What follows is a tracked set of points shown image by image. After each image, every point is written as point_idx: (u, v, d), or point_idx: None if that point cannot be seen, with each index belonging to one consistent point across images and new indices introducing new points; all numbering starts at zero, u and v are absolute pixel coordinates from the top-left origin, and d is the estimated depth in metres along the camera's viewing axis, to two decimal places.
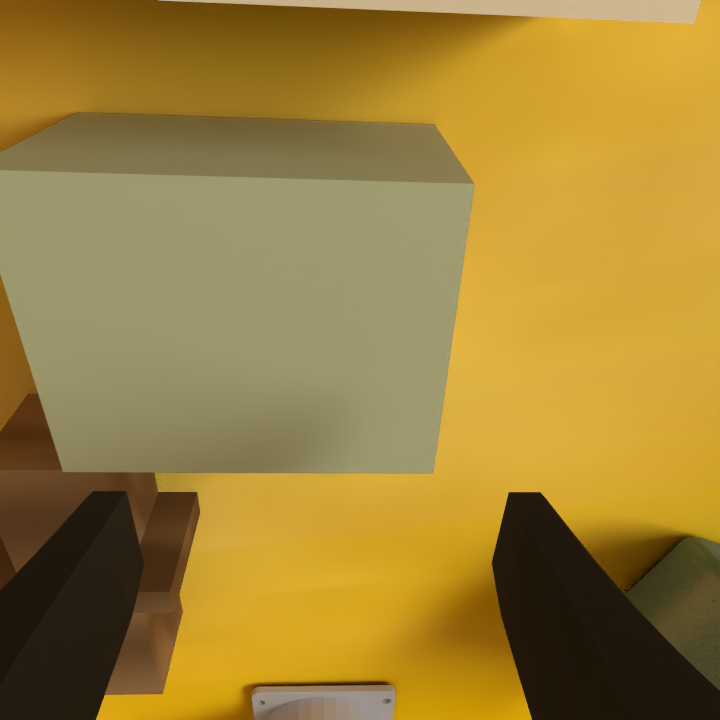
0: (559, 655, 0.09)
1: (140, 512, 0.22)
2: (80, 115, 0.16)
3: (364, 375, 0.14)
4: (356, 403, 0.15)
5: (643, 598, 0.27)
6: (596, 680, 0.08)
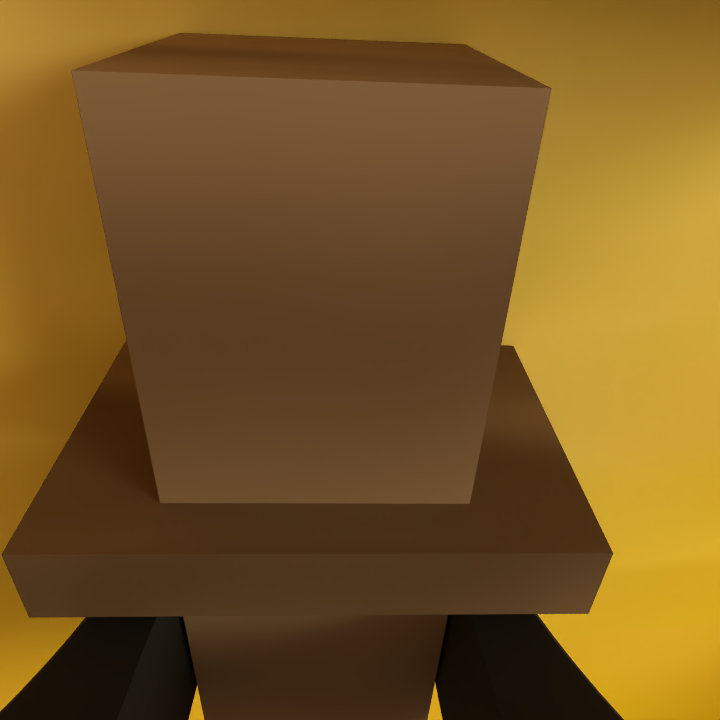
0: (458, 656, 0.09)
1: None
2: None
3: None
4: None
5: None
6: (481, 682, 0.08)
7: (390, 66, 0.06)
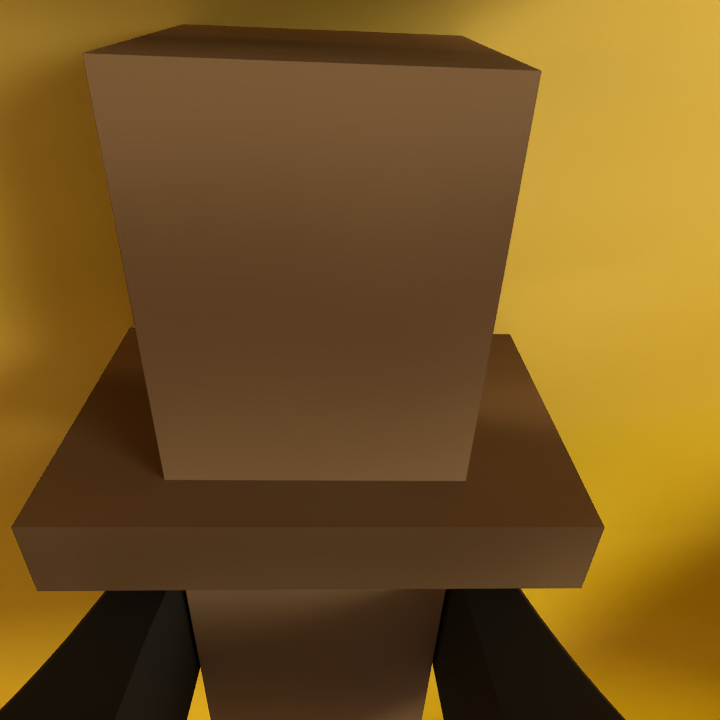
0: (460, 657, 0.09)
1: None
2: None
3: None
4: None
5: None
6: (482, 682, 0.08)
7: (387, 52, 0.06)
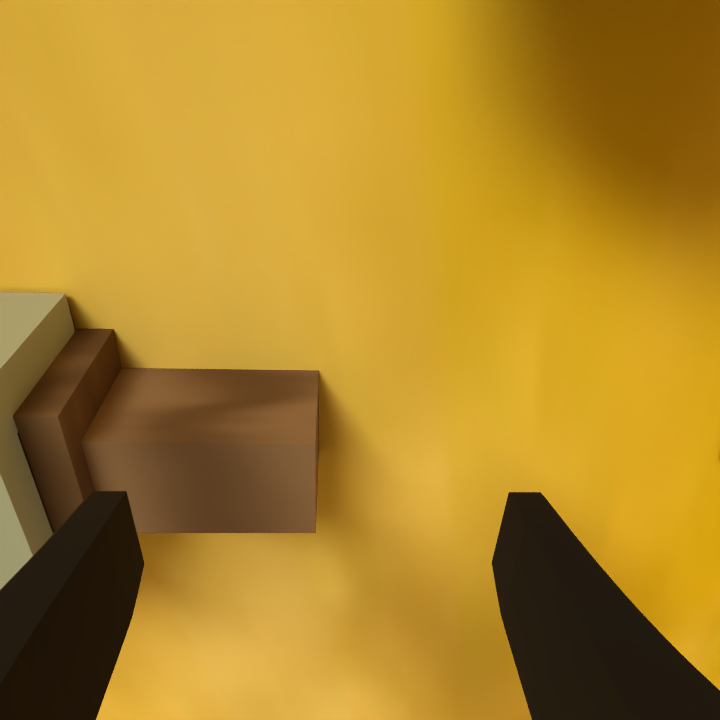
0: (559, 655, 0.09)
1: None
2: None
3: None
4: None
5: None
6: (596, 680, 0.08)
7: None
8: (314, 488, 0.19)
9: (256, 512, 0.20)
